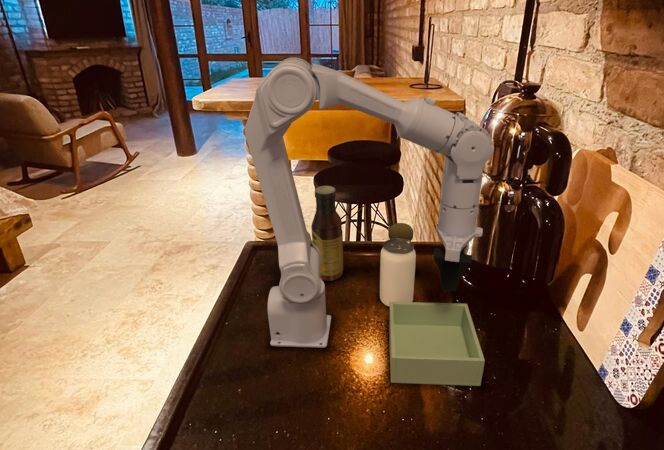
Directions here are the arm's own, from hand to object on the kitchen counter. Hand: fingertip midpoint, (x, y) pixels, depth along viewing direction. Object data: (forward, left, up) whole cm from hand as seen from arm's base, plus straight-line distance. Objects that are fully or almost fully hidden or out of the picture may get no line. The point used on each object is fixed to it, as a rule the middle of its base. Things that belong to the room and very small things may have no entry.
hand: (450, 276), depth 68 cm
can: (-8, +7, -10) cm, 15 cm away
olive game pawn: (-7, +17, -10) cm, 21 cm away
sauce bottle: (-22, +15, -10) cm, 29 cm away
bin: (-3, -7, -10) cm, 13 cm away
